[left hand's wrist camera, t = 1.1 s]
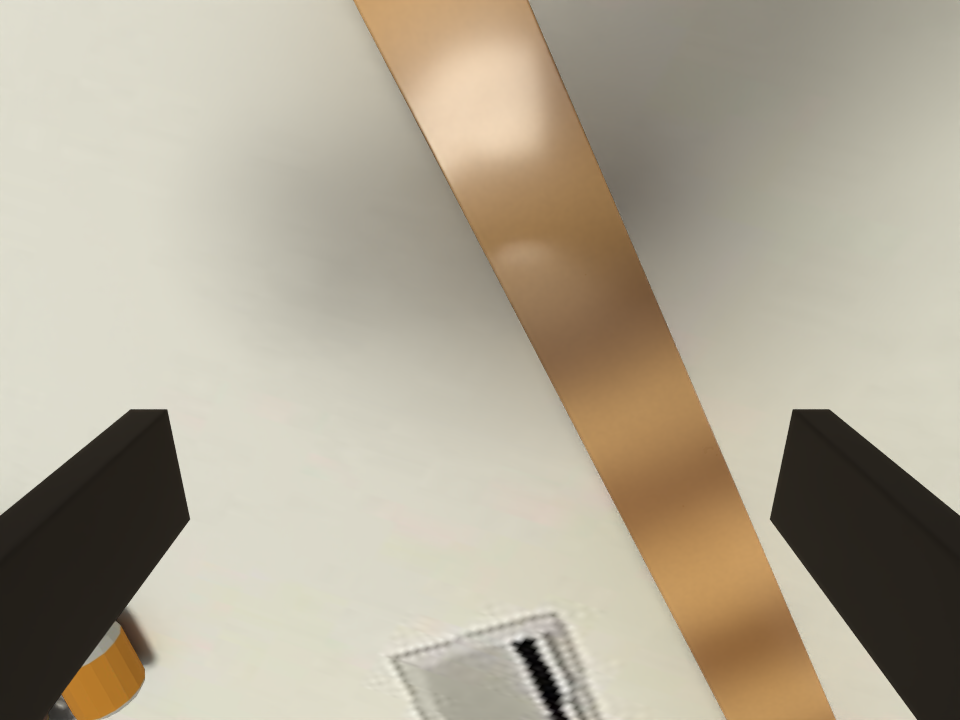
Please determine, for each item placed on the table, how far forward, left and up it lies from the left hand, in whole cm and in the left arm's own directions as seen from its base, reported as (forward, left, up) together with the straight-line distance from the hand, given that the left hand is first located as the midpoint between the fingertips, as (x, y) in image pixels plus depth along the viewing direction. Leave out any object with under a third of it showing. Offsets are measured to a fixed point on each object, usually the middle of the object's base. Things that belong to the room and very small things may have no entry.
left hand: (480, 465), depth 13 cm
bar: (-6, +20, -19) cm, 29 cm away
